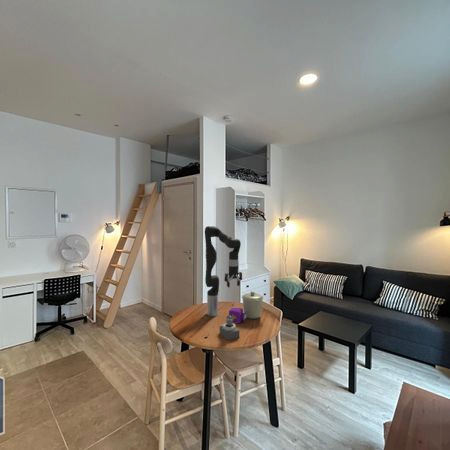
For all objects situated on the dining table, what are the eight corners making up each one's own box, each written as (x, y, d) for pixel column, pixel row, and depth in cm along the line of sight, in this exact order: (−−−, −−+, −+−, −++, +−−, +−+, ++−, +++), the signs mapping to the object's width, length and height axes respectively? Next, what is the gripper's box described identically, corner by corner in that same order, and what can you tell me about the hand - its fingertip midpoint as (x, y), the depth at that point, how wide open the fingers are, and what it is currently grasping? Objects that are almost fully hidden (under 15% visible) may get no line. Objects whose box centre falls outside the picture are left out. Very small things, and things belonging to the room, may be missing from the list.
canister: (261, 312, 212) (261, 288, 212) (265, 320, 194) (265, 294, 194) (240, 312, 212) (240, 288, 212) (242, 320, 194) (243, 294, 194)
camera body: (219, 333, 172) (219, 323, 171) (230, 330, 176) (230, 321, 176) (227, 340, 161) (227, 329, 161) (239, 337, 165) (239, 327, 165)
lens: (225, 327, 169) (225, 315, 169) (230, 326, 172) (230, 314, 172) (228, 330, 165) (228, 318, 165) (234, 328, 167) (234, 316, 168)
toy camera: (245, 324, 186) (245, 311, 186) (228, 323, 189) (228, 310, 189) (247, 319, 197) (247, 307, 197) (230, 318, 199) (230, 305, 199)
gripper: (239, 263, 190) (238, 284, 190) (223, 265, 183) (222, 286, 183) (244, 265, 183) (244, 286, 184) (227, 266, 177) (227, 288, 177)
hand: (233, 286), depth 184 cm, fingers open, 8 cm apart
